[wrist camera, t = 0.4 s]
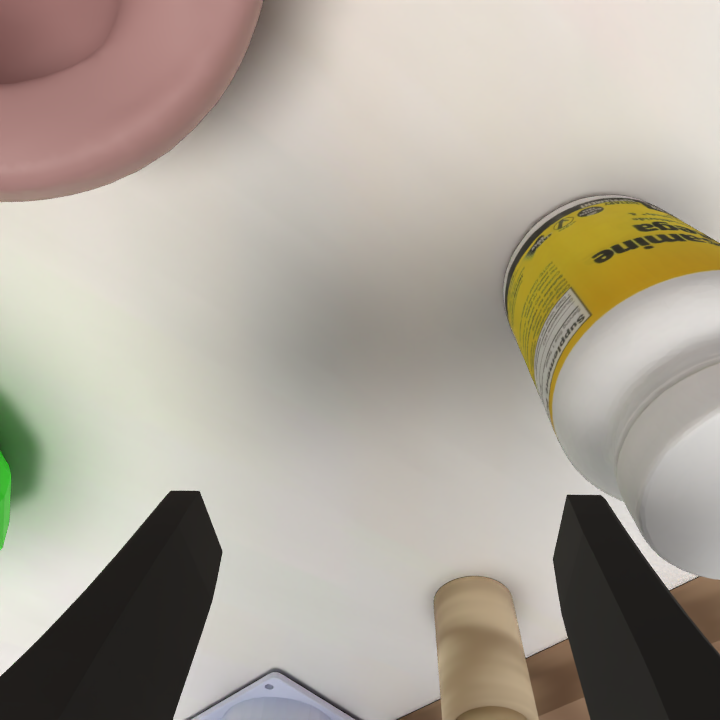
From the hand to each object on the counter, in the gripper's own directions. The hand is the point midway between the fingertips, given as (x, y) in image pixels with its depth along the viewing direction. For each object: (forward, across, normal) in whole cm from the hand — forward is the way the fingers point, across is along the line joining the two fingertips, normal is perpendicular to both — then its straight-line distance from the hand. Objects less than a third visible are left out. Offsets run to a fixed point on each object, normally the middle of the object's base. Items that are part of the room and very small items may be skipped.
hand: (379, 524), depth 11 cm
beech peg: (+9, -3, +18) cm, 20 cm away
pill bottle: (+11, -7, +1) cm, 13 cm away
